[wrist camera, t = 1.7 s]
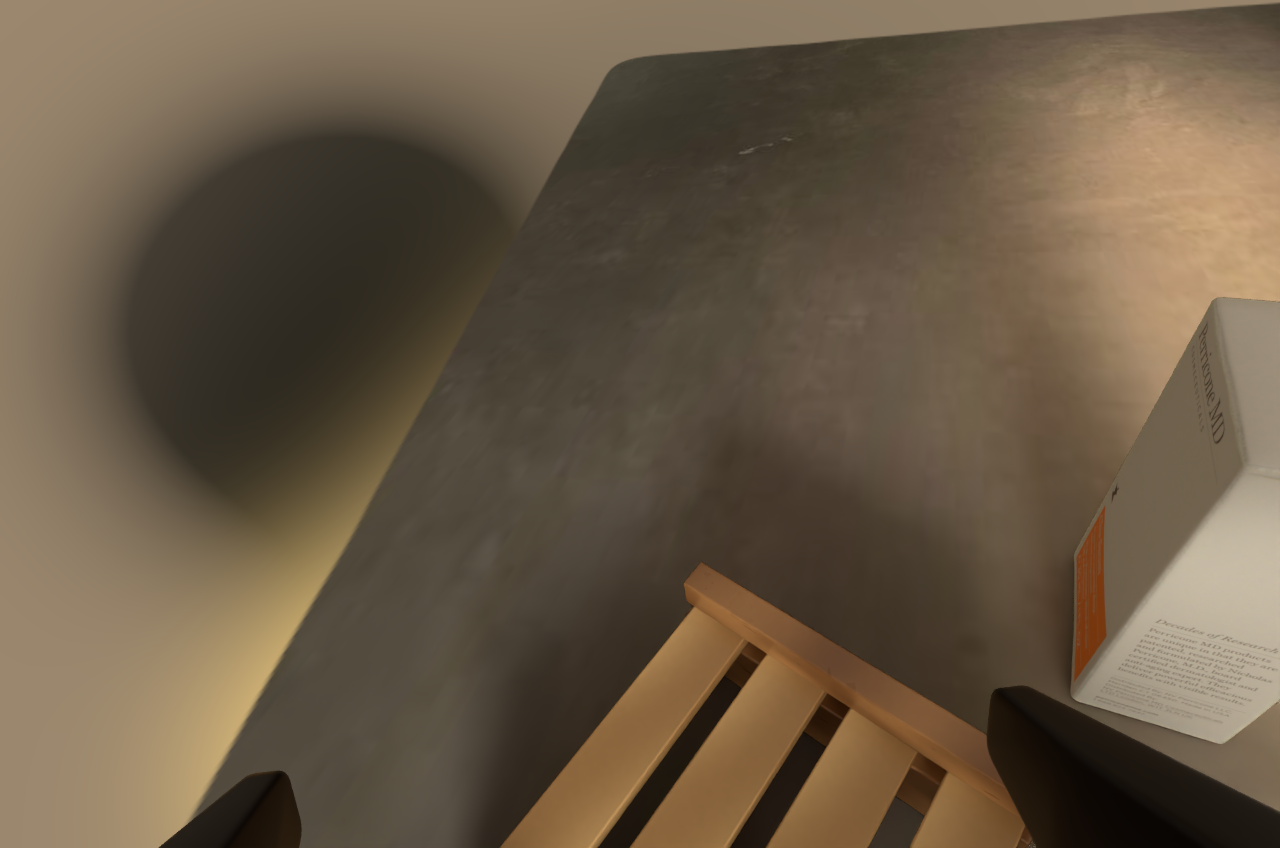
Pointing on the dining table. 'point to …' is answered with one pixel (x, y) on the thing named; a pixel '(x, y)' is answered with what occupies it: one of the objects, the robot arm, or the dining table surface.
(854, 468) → the dining table surface
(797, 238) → the dining table surface
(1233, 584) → the cosmetic box
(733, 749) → the rack
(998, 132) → the dining table surface
